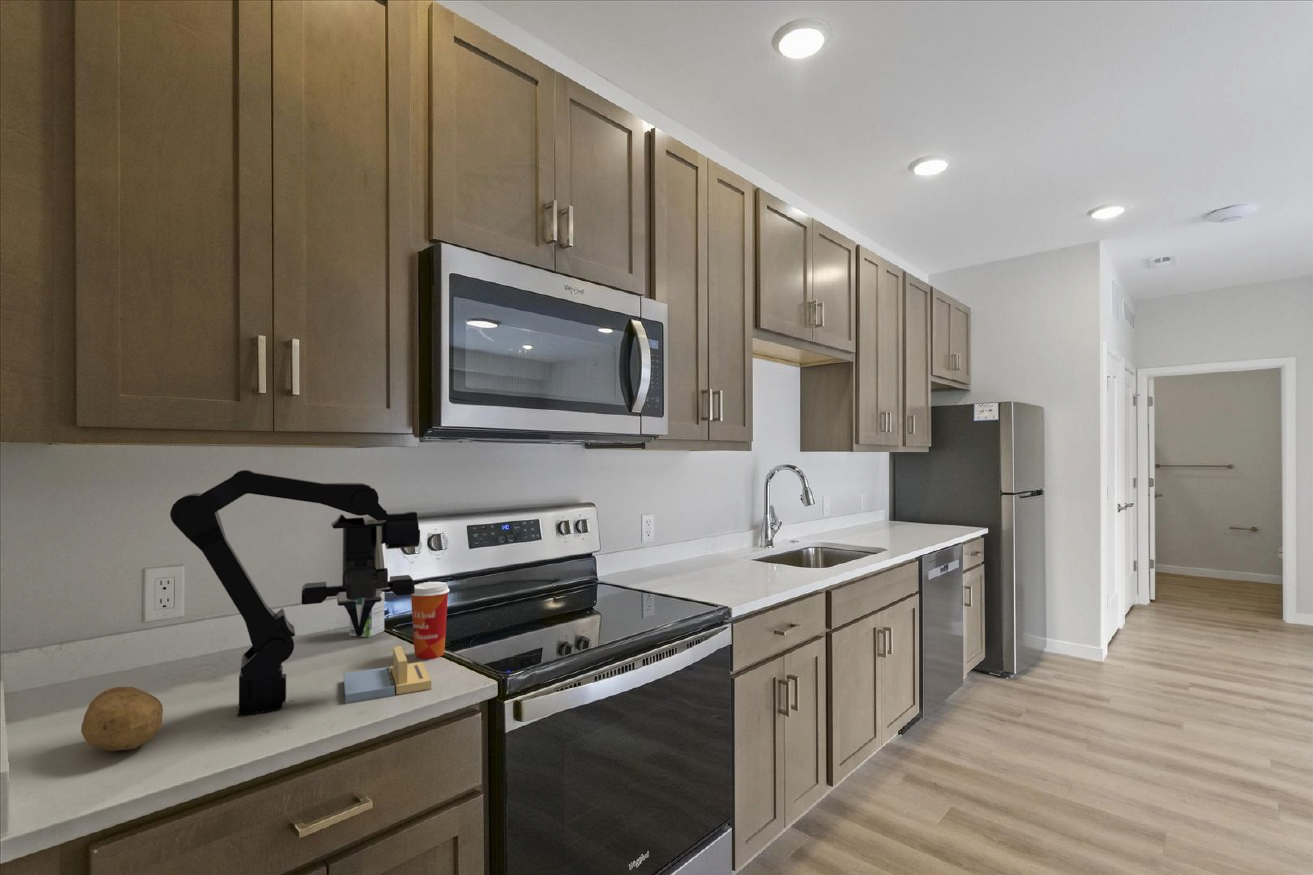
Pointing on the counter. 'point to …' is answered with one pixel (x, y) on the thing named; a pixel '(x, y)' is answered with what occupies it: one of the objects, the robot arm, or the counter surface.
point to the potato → (121, 719)
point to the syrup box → (370, 619)
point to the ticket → (368, 684)
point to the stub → (408, 674)
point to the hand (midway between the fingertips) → (359, 635)
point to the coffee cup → (429, 619)
